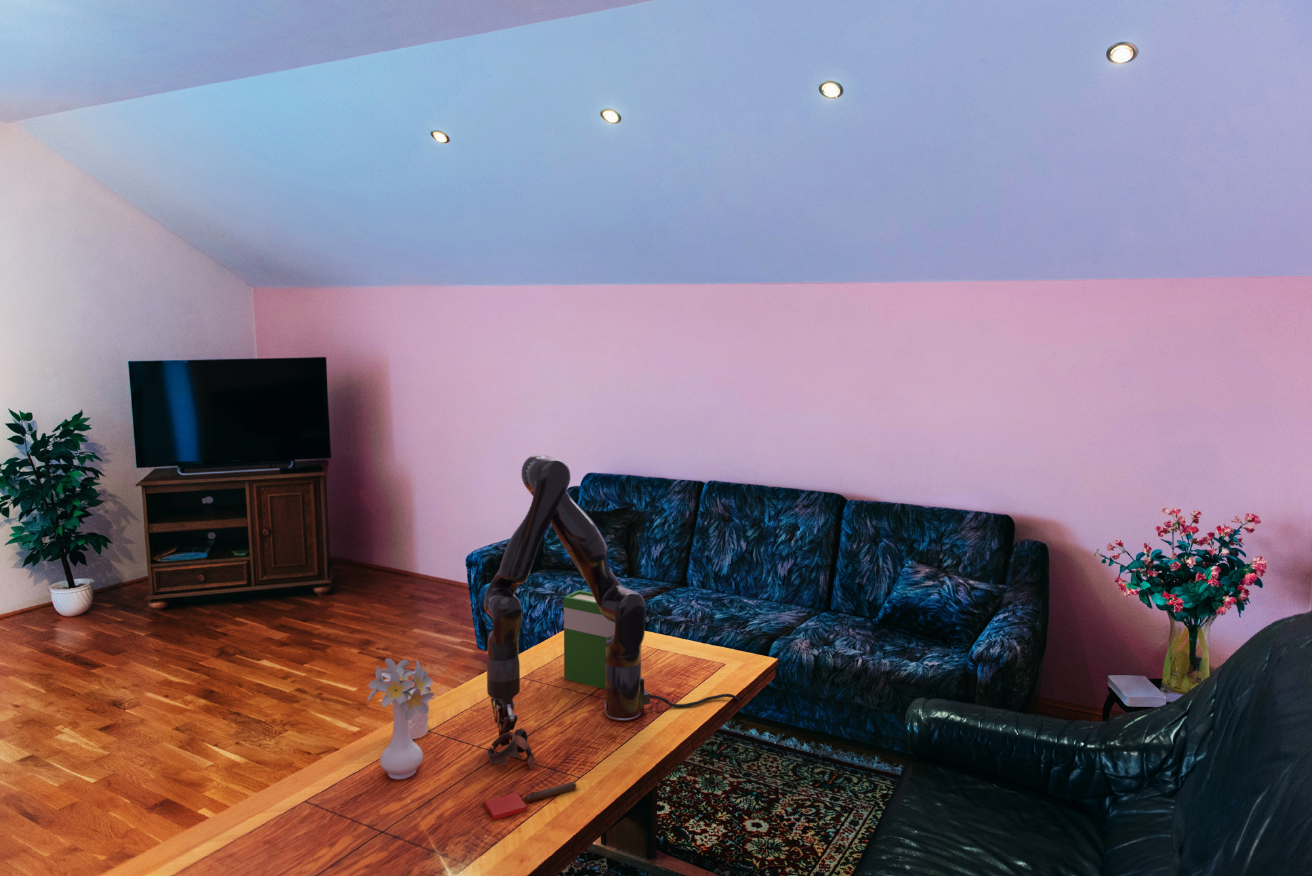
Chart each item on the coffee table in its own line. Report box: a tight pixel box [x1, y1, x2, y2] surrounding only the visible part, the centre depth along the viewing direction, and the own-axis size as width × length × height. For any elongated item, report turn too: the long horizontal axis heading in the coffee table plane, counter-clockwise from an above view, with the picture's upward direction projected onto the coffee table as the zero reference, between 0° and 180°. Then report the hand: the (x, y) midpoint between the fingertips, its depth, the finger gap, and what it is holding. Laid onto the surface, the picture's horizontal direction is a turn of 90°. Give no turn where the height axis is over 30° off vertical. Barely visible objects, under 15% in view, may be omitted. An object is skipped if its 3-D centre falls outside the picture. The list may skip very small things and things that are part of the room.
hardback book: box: [563, 589, 615, 690], centre depth 235 cm, size 18×7×24 cm, turn 60°
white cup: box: [407, 689, 430, 740], centre depth 204 cm, size 8×8×10 cm
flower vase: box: [367, 657, 435, 780], centre depth 185 cm, size 13×18×25 cm
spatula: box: [484, 781, 577, 821], centre depth 176 cm, size 19×6×2 cm, turn 119°
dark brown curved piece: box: [487, 727, 536, 770], centre depth 191 cm, size 12×10×8 cm
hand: (504, 743), depth 197 cm, fingers closed
